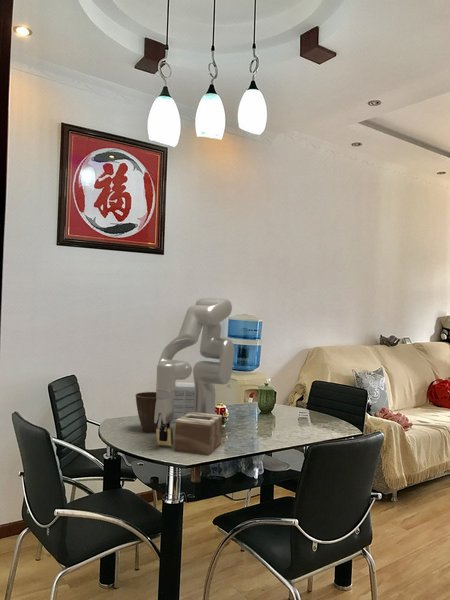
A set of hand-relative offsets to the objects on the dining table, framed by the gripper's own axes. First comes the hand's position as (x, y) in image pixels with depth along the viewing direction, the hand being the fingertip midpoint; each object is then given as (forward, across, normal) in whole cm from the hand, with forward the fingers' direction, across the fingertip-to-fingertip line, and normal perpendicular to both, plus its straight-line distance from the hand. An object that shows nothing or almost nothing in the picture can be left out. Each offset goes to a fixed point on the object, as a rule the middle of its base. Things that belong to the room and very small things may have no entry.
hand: (164, 439), depth 204 cm
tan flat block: (+2, 0, 0) cm, 2 cm away
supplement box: (+4, -47, -9) cm, 48 cm away
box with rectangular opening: (+3, -4, +13) cm, 14 cm away
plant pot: (+3, -21, -15) cm, 26 cm away
